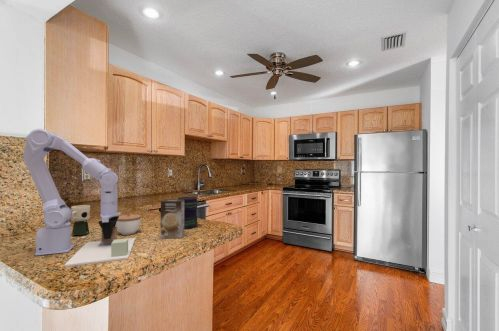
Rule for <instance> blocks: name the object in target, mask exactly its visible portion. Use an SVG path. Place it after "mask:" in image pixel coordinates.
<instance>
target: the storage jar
mask: <svg viewBox="0 0 499 331" xmlns="http://www.w3.org/2000/svg"><path fill="white" fill-rule="evenodd" d="M177 199H180V200H184V230H193V228H194V229H196V228H198V212H197V210H198V197H196V196H181V197H178V198H177Z"/></svg>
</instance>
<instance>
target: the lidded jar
mask: <svg viewBox="0 0 499 331" xmlns="http://www.w3.org/2000/svg"><path fill="white" fill-rule="evenodd" d="M118 216H119V218H118V220H117V222H116V226H115V227H117V233H120V235H121V236H129V235H133V234H136V233H137V231H138V230H140V229H139V228H140V227H141V223H142V215H141V214H132V213H130V212H127V214H124V215H123V214H122V215H118Z"/></svg>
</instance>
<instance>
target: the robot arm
mask: <svg viewBox="0 0 499 331" xmlns="http://www.w3.org/2000/svg"><path fill="white" fill-rule="evenodd" d="M52 150H58V151H62V152H64V154H66V155H68V156H69V157H71V158H73V159H74V160H75V161H77V162H78V163H79V164H81V167H82V168H81V169H82V171H84V172H86V173H87V174H88V175H89V176H91V177H92V178H94V179H95V180H97V181H99V184H100V185H101V190H100V214H99V216H100V218H101V220H98V226H99V227H100V228H101V233H102V232H103V236H104V239H111V236H112V230H113V227H116V222H117V220H118V218H119V216H122V215H121V214H122V212H118V200H119V199H118V196H119V195H118V182H119V177H118V175H117V174H116V173H115V172H114V171H112V168H110V167H109V168H108V167H106V166H105V165H104V164H103V163H101V162H102V161H101V160H100V159H96V158H93V157H91V158H89V157H87V156H86V155H85V154H84V153H83V152H81V151H80V150H79V149H78V148H76V146H74V145H73V144H71V143H70V142H69V141H67V140H66V139H64V138H62V137H60V136H58V135H57V133H54V132H51V131H48V130H47V129H44V128H36V129H33V130H32V131H30V132H29V134H28V135H27V136H26V137H25V145H24V150H23V152H22V153H23V154H22V158H23V161H24V163H25V165H26V168H27V170H28V172H29V174H30V176H31V177H30V178H31V179H32V181H33V184H34V186H35V188H36V190H37V192H38V195H39V197H40V199H41V201H42V212H43V224H44V225H45V226H44V227H40V228H38V230H37V231H36V236H35V254H34V256H45V255H54V254H55V255H56V254H62V253H63V254H65V253H68V252H69V251H71V249H73V248H74V247H75V246H76V245H75V244H72V243H71V242H72V239H71V238H72V226H71V225H72V223H71V221H70V220H71V217H72V210H71V208H70V207H69V206H68V205H67V204H66V202H65V200H63V199H62V198H61V195H60V193H59V190H58V188H57V185H56V184H55V182H54V180H53V177H52V174H51V173H50V170H49V167H48V165H47V164H46V160H45V158H46V156H47V155H48V154H49V153H50V152H51V151H52Z"/></svg>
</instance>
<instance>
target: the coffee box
mask: <svg viewBox="0 0 499 331" xmlns="http://www.w3.org/2000/svg"><path fill="white" fill-rule="evenodd" d="M159 232H160V233H159V234H160V237H159V238H160V239H181V238H183V236H184V235H185V229H184V200H180V199H178V198H177V199H175V198H174V199H171V198H169V199H168V198H166V199H163V200H161V201H160V230H159Z"/></svg>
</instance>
